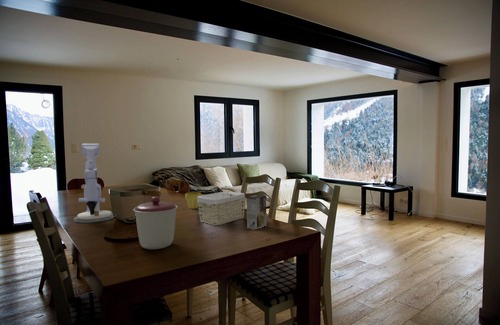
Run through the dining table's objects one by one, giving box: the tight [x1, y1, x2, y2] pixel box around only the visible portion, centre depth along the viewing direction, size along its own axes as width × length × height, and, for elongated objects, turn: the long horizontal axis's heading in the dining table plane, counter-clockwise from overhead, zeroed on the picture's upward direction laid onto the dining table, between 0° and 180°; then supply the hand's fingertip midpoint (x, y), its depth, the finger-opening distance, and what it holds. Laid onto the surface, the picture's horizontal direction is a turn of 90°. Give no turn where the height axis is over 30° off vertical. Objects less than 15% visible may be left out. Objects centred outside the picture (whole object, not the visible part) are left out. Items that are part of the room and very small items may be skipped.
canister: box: [133, 196, 179, 250], centre depth 140 cm, size 18×18×21 cm
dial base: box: [73, 212, 115, 224], centre depth 192 cm, size 22×22×2 cm
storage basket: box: [197, 190, 246, 226], centre depth 185 cm, size 24×16×15 cm
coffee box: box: [246, 194, 267, 230], centre depth 169 cm, size 9×6×16 cm
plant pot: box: [184, 192, 202, 210], centre depth 221 cm, size 10×10×10 cm
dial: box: [76, 208, 112, 220], centre depth 192 cm, size 18×18×4 cm
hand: (92, 214), depth 187 cm, fingers closed, pressing on dial
